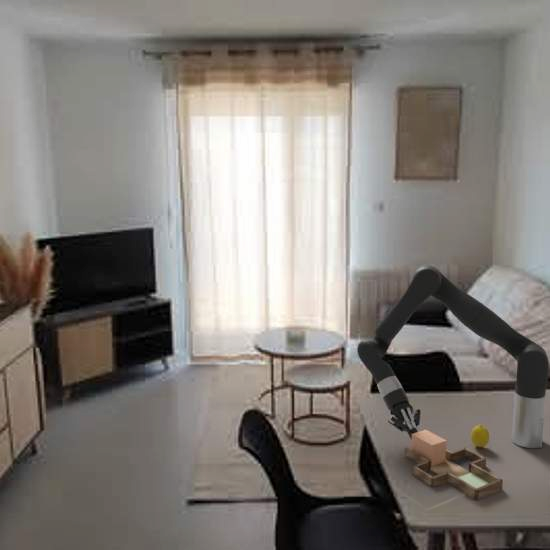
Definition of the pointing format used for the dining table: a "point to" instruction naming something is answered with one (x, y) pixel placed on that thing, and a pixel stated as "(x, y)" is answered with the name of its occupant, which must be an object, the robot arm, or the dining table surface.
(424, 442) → the block
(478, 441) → the lemon
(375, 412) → the dining table surface
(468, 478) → the pad
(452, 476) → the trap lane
